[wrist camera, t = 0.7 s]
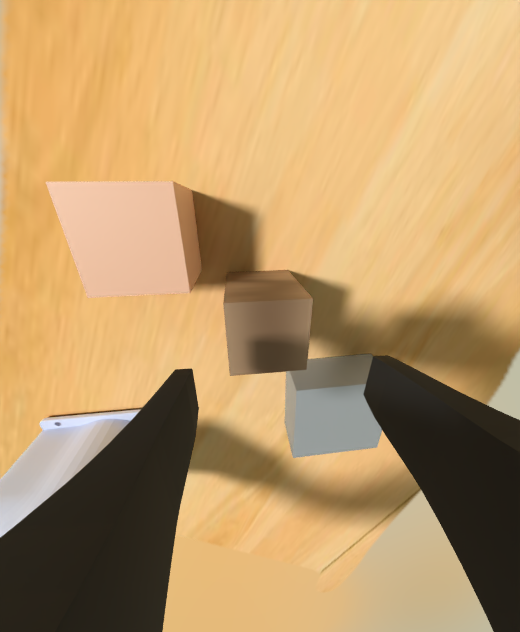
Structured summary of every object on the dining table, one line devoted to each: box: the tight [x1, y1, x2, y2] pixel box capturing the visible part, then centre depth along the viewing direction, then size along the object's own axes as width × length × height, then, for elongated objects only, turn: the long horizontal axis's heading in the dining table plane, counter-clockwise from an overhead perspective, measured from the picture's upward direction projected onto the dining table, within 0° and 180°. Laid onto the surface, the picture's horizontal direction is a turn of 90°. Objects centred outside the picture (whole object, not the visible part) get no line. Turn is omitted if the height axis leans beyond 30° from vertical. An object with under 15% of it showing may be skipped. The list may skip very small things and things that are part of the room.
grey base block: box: [285, 354, 382, 458], centre depth 21 cm, size 8×8×4 cm
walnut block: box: [224, 270, 313, 376], centre depth 15 cm, size 4×4×6 cm
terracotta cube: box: [46, 181, 202, 298], centre depth 13 cm, size 5×5×5 cm
